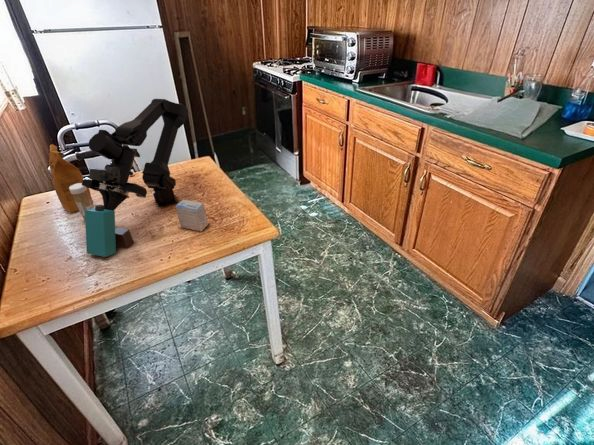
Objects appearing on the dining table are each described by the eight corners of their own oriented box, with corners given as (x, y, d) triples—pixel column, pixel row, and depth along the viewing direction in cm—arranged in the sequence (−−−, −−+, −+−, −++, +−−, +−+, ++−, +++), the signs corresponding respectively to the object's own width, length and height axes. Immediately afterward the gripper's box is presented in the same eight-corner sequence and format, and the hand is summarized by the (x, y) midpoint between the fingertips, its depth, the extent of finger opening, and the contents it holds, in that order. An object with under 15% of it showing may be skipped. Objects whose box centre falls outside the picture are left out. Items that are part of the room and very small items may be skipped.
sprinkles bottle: (100, 221, 113) (85, 186, 106) (85, 225, 111) (68, 190, 104) (98, 215, 116) (83, 181, 109) (83, 219, 114) (68, 185, 107)
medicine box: (208, 224, 110) (204, 202, 105) (201, 232, 107) (196, 209, 102) (188, 220, 112) (183, 198, 107) (180, 228, 109) (174, 205, 104)
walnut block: (107, 237, 105) (102, 224, 102) (134, 242, 103) (129, 229, 100) (100, 243, 103) (94, 230, 100) (127, 248, 100) (122, 234, 98)
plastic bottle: (112, 235, 105) (91, 200, 96) (129, 238, 103) (110, 203, 94) (89, 257, 98) (65, 222, 88) (108, 261, 96) (85, 226, 87)
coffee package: (89, 193, 130) (66, 139, 117) (97, 206, 122) (73, 149, 109) (60, 202, 124) (33, 146, 112) (67, 215, 116) (38, 157, 104)
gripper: (73, 151, 94) (57, 204, 92) (128, 157, 90) (112, 212, 87) (103, 166, 105) (89, 213, 103) (153, 172, 101) (140, 221, 98)
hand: (106, 215), depth 97 cm, fingers closed
